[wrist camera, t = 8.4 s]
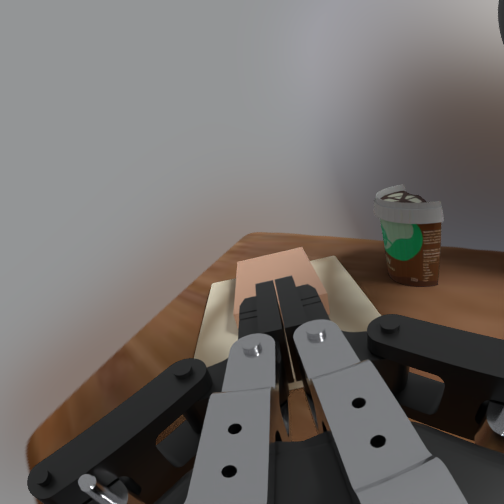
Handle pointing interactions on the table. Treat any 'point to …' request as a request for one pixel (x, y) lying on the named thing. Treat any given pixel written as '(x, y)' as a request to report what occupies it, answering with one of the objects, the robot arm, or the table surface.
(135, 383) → the table surface
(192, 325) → the table surface
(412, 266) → the food container
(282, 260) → the tile
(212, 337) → the board
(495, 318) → the table surface
